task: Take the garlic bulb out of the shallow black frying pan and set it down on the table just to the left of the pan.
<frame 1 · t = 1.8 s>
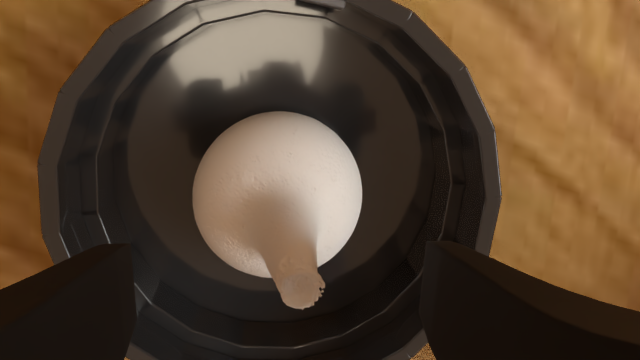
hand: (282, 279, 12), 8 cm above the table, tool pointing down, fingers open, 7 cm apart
pan: (278, 181, 20), on the table
garlic bulb: (278, 181, 20), resting on pan
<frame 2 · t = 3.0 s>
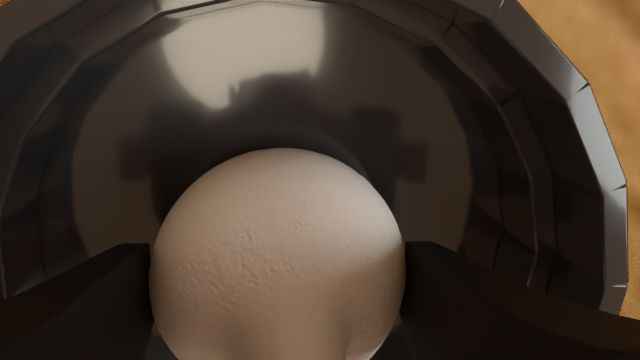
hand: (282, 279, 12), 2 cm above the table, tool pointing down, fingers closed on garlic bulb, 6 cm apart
pan: (280, 240, 14), on the table
garlic bulb: (280, 242, 14), resting on pan, touching gripper
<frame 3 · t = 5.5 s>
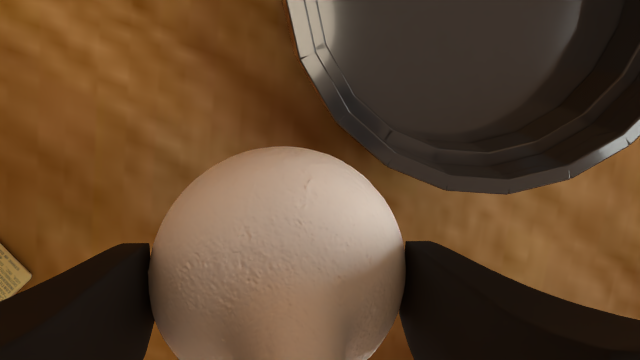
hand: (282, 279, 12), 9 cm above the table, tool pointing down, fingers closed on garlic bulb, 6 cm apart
garlic bulb: (280, 241, 14), point 7 cm above the table, touching gripper
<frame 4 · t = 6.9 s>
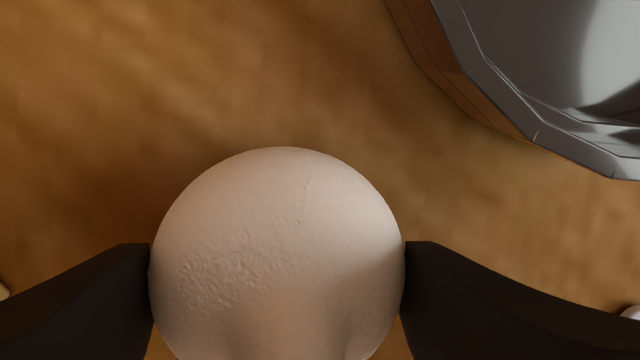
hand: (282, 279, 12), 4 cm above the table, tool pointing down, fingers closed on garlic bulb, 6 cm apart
garlic bulb: (280, 241, 14), point 2 cm above the table, touching gripper
when the fingers open (2 cm above the table, at t = 8.2 s): garlic bulb stays where it is, on the table.
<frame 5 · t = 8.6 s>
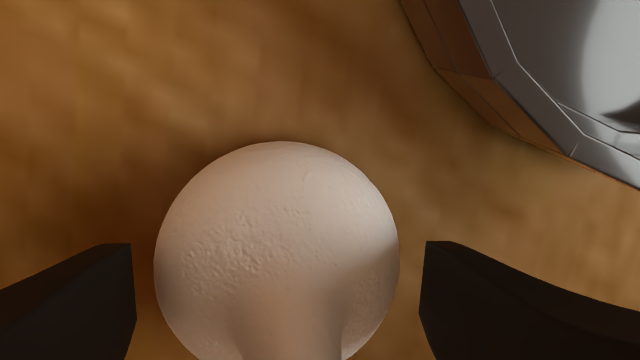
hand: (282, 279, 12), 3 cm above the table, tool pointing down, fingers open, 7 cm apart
garlic bulb: (280, 233, 14), on the table
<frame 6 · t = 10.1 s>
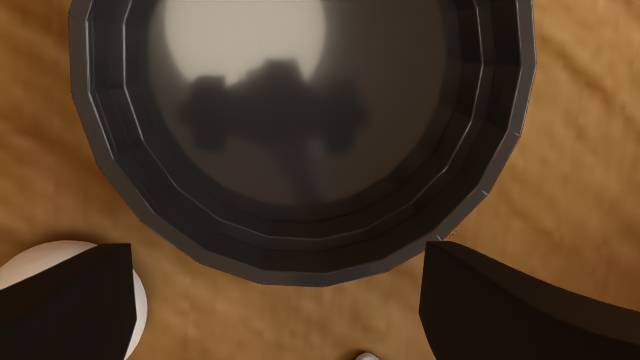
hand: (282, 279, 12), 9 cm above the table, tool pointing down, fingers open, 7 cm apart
pan: (304, 71, 19), on the table
garlic bulb: (83, 291, 22), on the table
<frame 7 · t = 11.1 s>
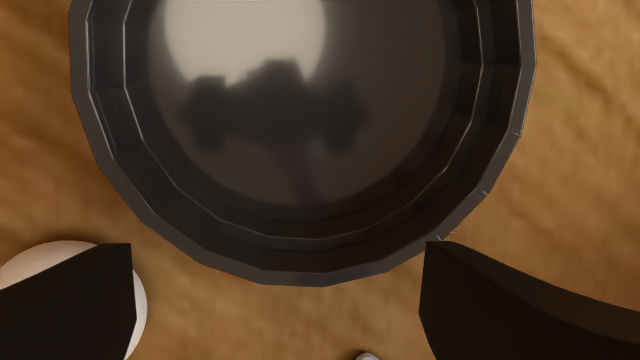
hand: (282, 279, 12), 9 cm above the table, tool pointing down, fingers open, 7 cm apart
pan: (304, 71, 19), on the table
garlic bulb: (83, 291, 22), on the table
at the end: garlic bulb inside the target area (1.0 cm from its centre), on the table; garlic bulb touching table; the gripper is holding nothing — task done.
